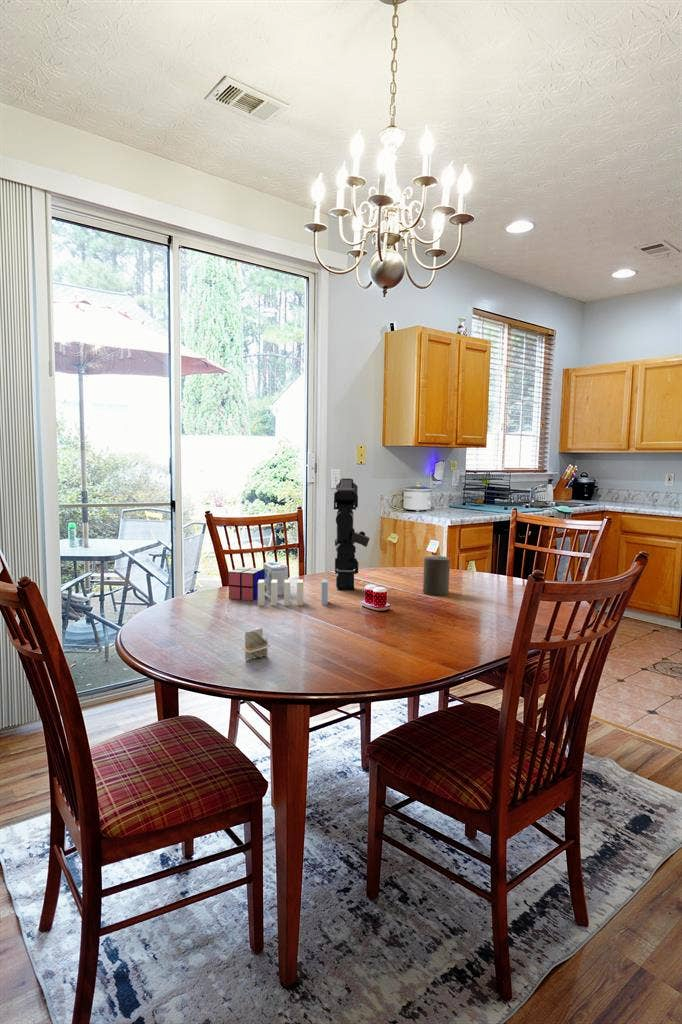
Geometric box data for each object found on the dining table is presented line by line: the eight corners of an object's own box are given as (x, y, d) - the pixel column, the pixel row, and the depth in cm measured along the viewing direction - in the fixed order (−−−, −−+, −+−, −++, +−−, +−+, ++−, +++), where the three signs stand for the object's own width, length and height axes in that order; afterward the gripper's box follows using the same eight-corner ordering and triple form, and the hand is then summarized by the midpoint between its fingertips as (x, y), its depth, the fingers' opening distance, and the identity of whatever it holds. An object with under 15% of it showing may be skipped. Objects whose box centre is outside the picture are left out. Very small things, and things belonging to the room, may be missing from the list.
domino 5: (321, 605, 203) (321, 582, 202) (321, 601, 208) (321, 579, 207) (327, 605, 203) (327, 582, 202) (327, 601, 208) (327, 579, 207)
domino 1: (264, 601, 206) (264, 579, 206) (263, 605, 201) (263, 582, 201) (259, 601, 206) (258, 579, 206) (257, 605, 201) (257, 582, 201)
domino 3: (290, 601, 207) (290, 579, 206) (289, 605, 202) (289, 582, 201) (284, 601, 207) (284, 579, 206) (284, 605, 202) (284, 582, 201)
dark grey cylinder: (431, 596, 216) (433, 556, 215) (418, 591, 225) (419, 552, 224) (453, 595, 220) (455, 555, 218) (439, 589, 229) (441, 551, 227)
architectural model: (271, 659, 149) (271, 630, 148) (249, 665, 144) (249, 636, 143) (262, 655, 151) (262, 627, 150) (241, 662, 146) (240, 633, 145)
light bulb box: (262, 590, 224) (262, 562, 223) (279, 588, 227) (279, 561, 226) (271, 596, 215) (271, 567, 214) (288, 594, 218) (288, 566, 217)
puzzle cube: (253, 601, 207) (253, 573, 206) (228, 599, 210) (228, 571, 209) (265, 595, 217) (265, 568, 216) (240, 593, 220) (240, 566, 219)
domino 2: (277, 601, 207) (277, 579, 206) (276, 605, 202) (276, 582, 201) (271, 601, 207) (271, 579, 206) (270, 605, 202) (270, 582, 201)
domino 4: (303, 601, 207) (303, 579, 206) (302, 605, 202) (303, 582, 201) (297, 601, 207) (297, 579, 206) (297, 605, 202) (297, 582, 201)
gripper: (371, 528, 194) (370, 574, 196) (365, 522, 213) (364, 564, 214) (337, 528, 193) (337, 574, 195) (334, 522, 212) (334, 564, 213)
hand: (344, 569), depth 204 cm, fingers closed
